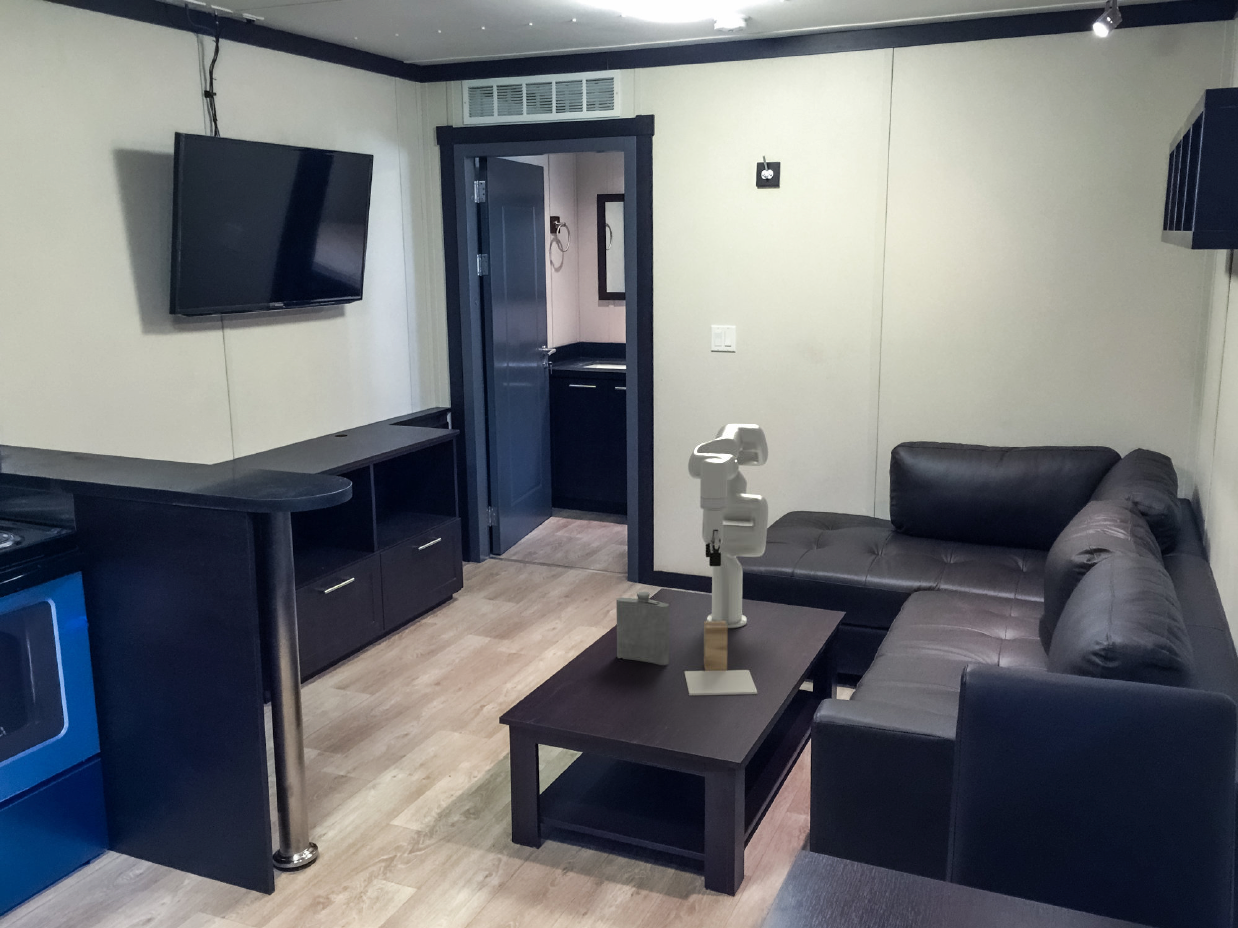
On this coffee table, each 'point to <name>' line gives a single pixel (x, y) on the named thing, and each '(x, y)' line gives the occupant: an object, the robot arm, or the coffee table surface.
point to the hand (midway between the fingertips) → (713, 561)
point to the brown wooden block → (715, 645)
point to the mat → (720, 682)
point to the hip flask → (643, 629)
